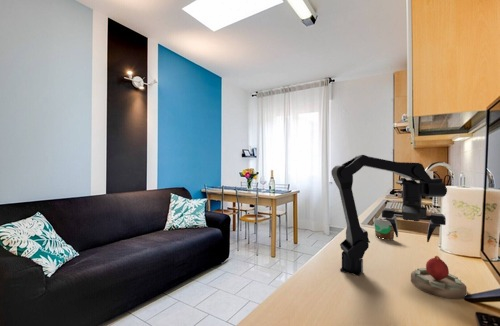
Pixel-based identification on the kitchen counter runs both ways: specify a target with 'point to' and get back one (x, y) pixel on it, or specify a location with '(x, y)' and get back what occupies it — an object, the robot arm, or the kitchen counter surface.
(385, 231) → the food container
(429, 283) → the display stand
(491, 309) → the kitchen counter surface
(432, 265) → the pomegranate
